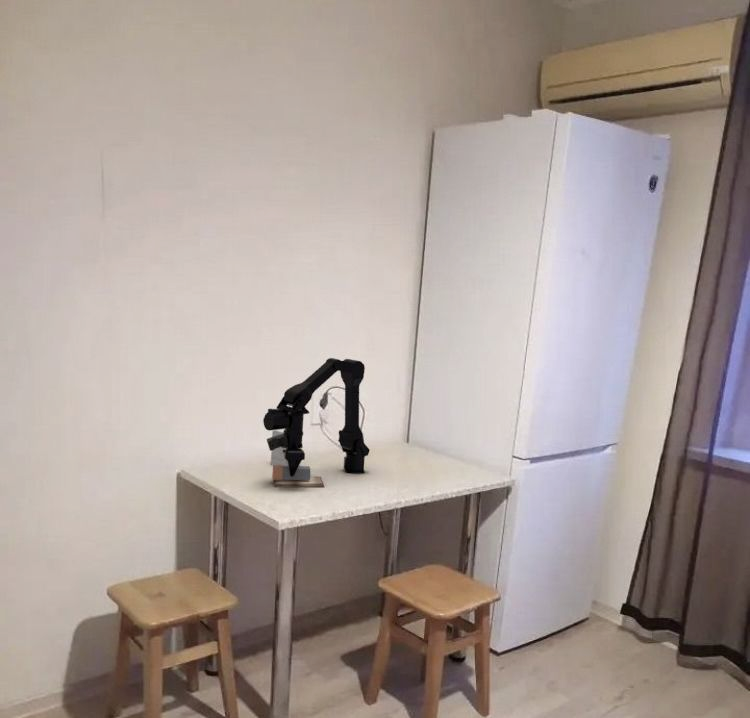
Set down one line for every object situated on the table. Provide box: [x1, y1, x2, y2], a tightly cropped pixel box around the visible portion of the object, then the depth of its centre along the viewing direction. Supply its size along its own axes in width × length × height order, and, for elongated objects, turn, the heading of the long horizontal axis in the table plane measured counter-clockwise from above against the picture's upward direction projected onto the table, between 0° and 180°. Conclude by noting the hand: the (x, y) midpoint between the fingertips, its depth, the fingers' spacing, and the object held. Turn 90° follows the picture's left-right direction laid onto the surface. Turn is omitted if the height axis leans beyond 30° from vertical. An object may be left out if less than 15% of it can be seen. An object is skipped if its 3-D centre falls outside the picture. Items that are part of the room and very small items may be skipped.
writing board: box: [272, 476, 325, 488], centre depth 234 cm, size 16×11×1 cm
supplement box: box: [270, 429, 288, 466], centre depth 254 cm, size 7×7×13 cm
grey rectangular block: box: [271, 465, 311, 481], centre depth 233 cm, size 12×4×4 cm, turn 101°
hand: (291, 474), depth 233 cm, fingers closed on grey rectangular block, 4 cm apart
